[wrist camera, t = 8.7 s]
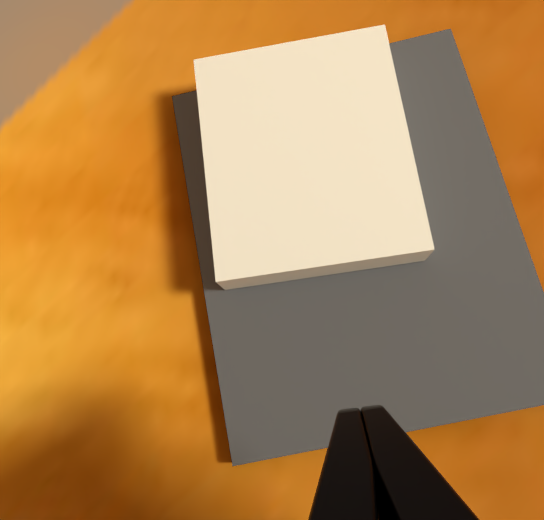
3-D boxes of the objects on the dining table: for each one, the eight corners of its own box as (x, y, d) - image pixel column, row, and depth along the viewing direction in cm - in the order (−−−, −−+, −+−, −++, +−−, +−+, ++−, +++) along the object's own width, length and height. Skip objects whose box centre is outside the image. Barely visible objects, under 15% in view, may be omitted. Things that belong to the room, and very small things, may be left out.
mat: (571, 396, 16) (580, 397, 16) (235, 463, 17) (232, 466, 17) (447, 38, 20) (450, 28, 20) (176, 104, 21) (172, 96, 20)
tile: (434, 249, 16) (384, 24, 18) (215, 281, 16) (193, 59, 19) (424, 261, 18) (380, 53, 20) (225, 290, 18) (204, 85, 20)
